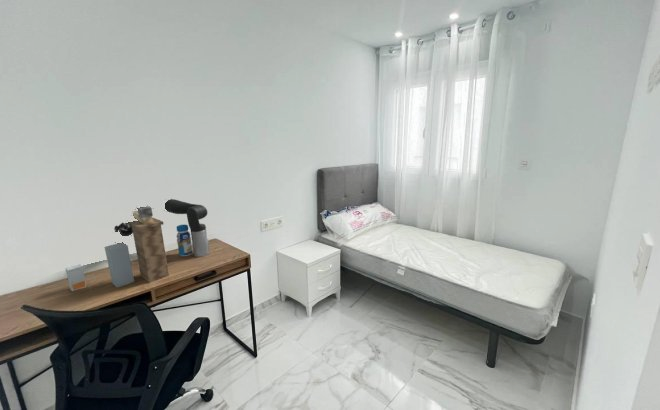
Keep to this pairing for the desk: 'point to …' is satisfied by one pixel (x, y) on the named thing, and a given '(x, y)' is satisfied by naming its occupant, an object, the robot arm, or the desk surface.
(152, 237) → the walnut stand
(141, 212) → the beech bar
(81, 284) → the skincare box
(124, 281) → the slate pillar
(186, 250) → the beverage bottle
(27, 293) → the desk surface
